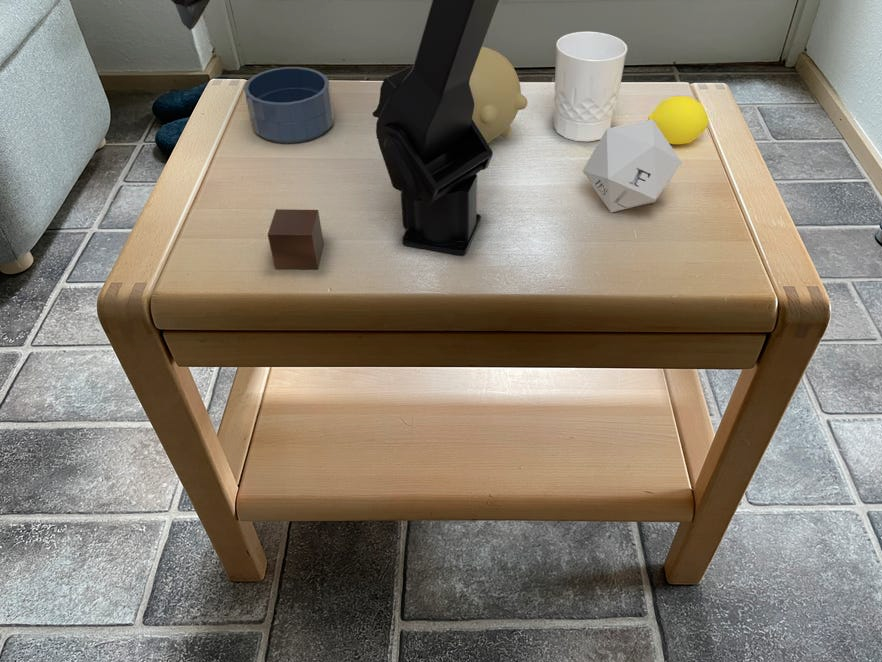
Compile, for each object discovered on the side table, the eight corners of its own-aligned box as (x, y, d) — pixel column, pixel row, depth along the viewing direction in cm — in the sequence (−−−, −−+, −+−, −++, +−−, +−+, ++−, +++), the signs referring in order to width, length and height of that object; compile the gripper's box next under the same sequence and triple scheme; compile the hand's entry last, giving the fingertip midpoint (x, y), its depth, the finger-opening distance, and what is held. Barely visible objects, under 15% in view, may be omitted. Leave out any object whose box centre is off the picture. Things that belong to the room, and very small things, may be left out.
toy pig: (498, 151, 93) (457, 74, 92) (553, 105, 83) (507, 18, 82) (438, 177, 88) (394, 95, 87) (489, 131, 78) (439, 38, 77)
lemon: (702, 132, 90) (712, 89, 86) (705, 155, 86) (717, 111, 82) (643, 128, 90) (651, 85, 86) (644, 150, 87) (652, 106, 83)
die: (564, 206, 79) (602, 168, 70) (587, 134, 82) (627, 88, 72) (635, 236, 81) (681, 203, 71) (656, 165, 83) (703, 123, 73)
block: (324, 244, 73) (318, 209, 70) (317, 269, 70) (311, 234, 67) (283, 243, 73) (275, 209, 70) (275, 269, 70) (267, 234, 67)
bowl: (346, 112, 92) (341, 72, 88) (314, 150, 85) (308, 109, 82) (274, 101, 94) (267, 62, 90) (238, 138, 87) (228, 97, 84)
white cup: (622, 142, 88) (636, 58, 81) (557, 147, 87) (566, 62, 80) (604, 111, 93) (615, 29, 86) (542, 115, 92) (549, 33, 85)
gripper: (248, -219, 69) (228, -73, 82) (79, -171, 59) (87, -13, 72) (337, -135, 70) (303, -3, 83) (186, -73, 59) (174, 67, 72)
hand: (221, 9), depth 77 cm, fingers open, 9 cm apart
